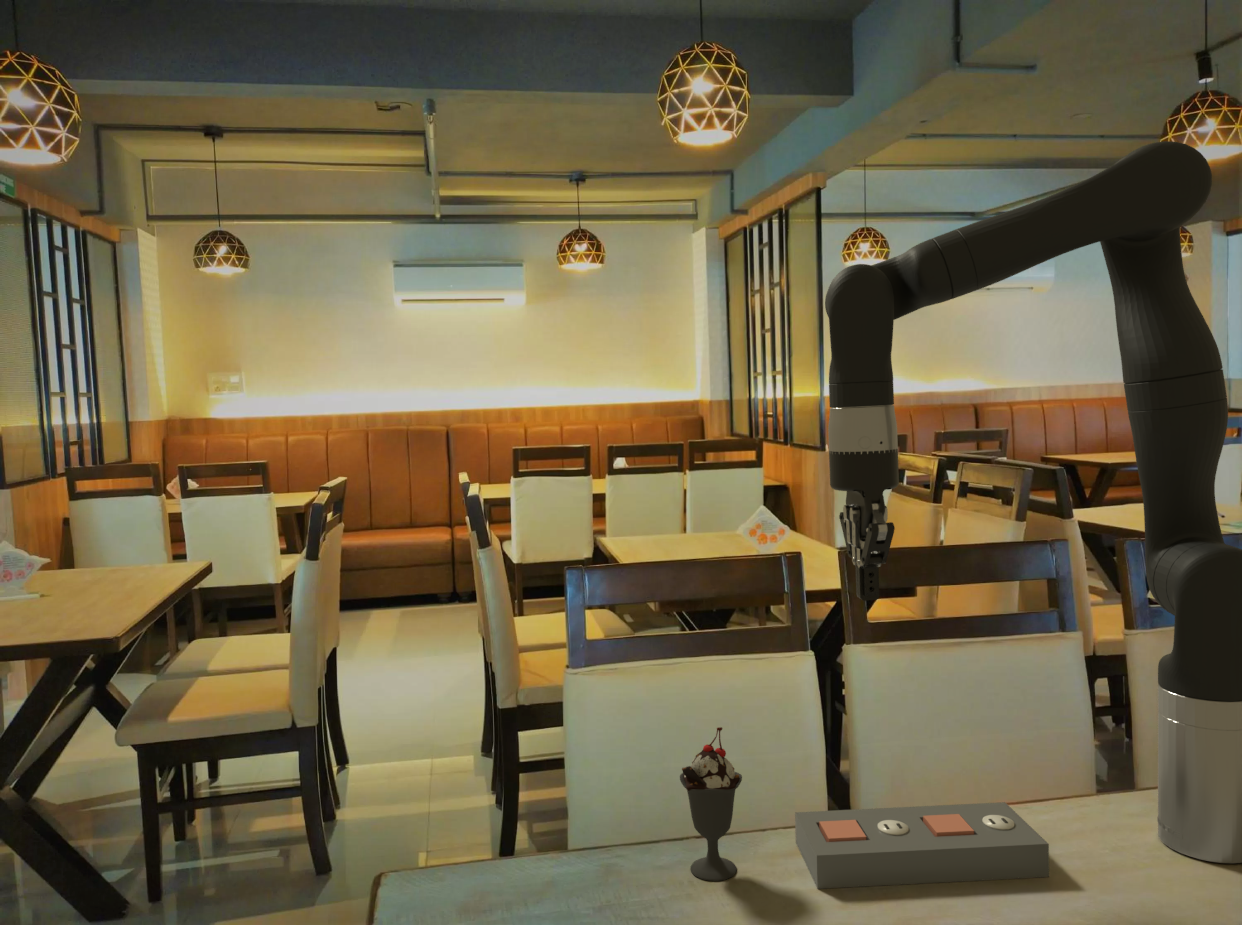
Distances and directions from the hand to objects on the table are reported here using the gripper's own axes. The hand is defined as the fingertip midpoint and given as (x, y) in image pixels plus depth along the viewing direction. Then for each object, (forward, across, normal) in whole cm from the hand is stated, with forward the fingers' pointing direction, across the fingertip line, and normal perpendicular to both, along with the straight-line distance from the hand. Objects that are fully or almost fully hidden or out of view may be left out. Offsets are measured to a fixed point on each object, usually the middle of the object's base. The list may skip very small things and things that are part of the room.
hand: (867, 598), depth 105 cm
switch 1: (+26, -7, +6) cm, 27 cm away
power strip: (+27, -7, -2) cm, 28 cm away
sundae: (+27, -7, +20) cm, 34 cm away
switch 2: (+26, -7, -6) cm, 27 cm away
